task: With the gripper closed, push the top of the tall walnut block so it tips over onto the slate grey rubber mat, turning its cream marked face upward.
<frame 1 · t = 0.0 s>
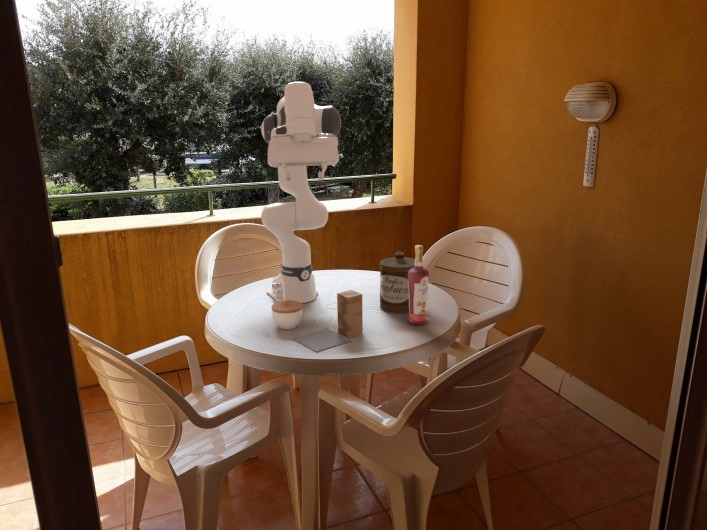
hand: (304, 179, 157), 54 cm above the table, tool tilted 30°, fingers open, 8 cm apart
lidded jar: (288, 326, 196), on the table
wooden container: (399, 307, 213), on the table
liquor: (417, 323, 198), on the table
slate mat: (322, 339, 184), on the table
walnut block: (350, 332, 190), on the table
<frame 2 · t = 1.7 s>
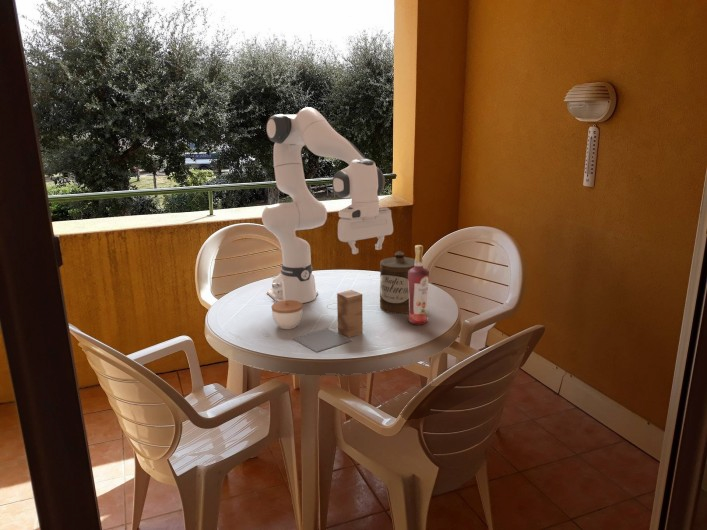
hand: (367, 251, 184), 28 cm above the table, tool pointing down, fingers open, 8 cm apart
nothing on the table moved.
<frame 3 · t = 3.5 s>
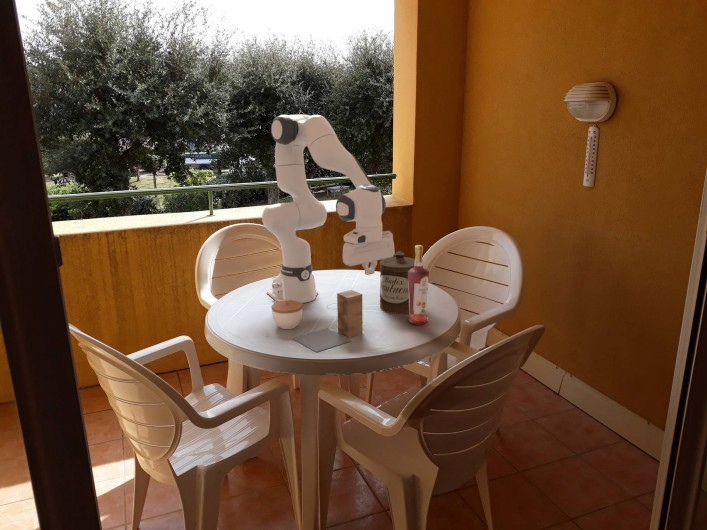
hand: (369, 273, 189), 19 cm above the table, tool pointing down, fingers closed
nothing on the table moved.
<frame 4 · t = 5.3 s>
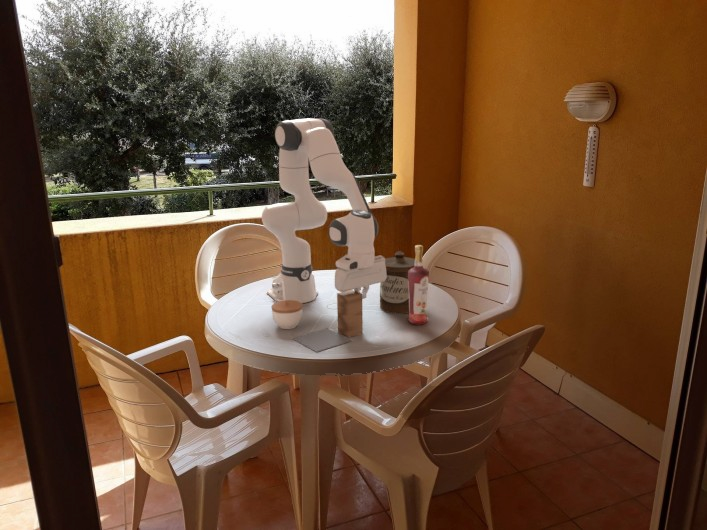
hand: (361, 298, 190), 11 cm above the table, tool pointing down, fingers closed
walnut block: (350, 332, 190), on the table, touching gripper
everything else where it was.
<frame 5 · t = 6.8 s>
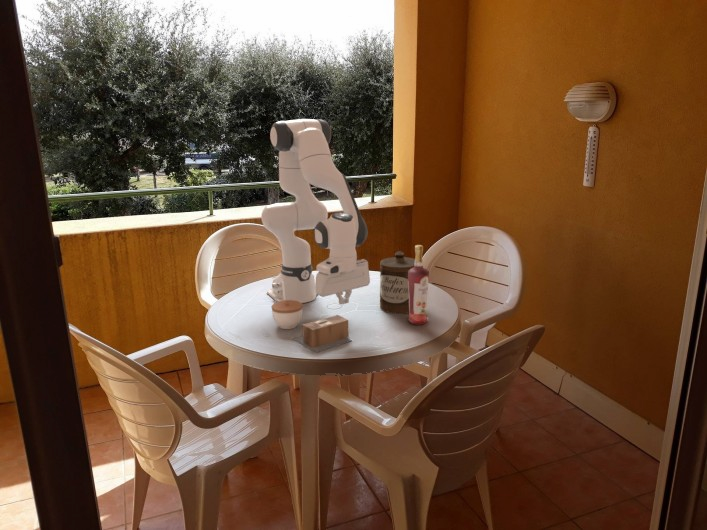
hand: (343, 303, 185), 11 cm above the table, tool pointing down, fingers closed
walnut block: (343, 325, 187), point 3 cm above the table, tilted 90°, touching slate mat
everything else where it was.
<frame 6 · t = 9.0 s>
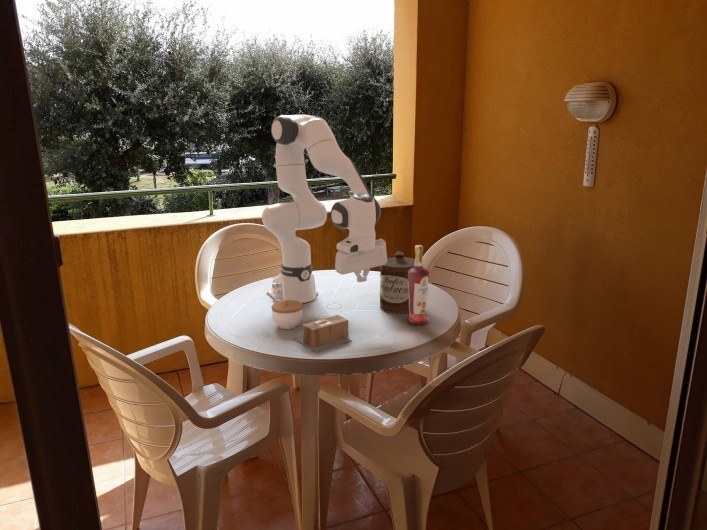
hand: (361, 281, 191), 16 cm above the table, tool pointing down, fingers closed
nothing on the table moved.
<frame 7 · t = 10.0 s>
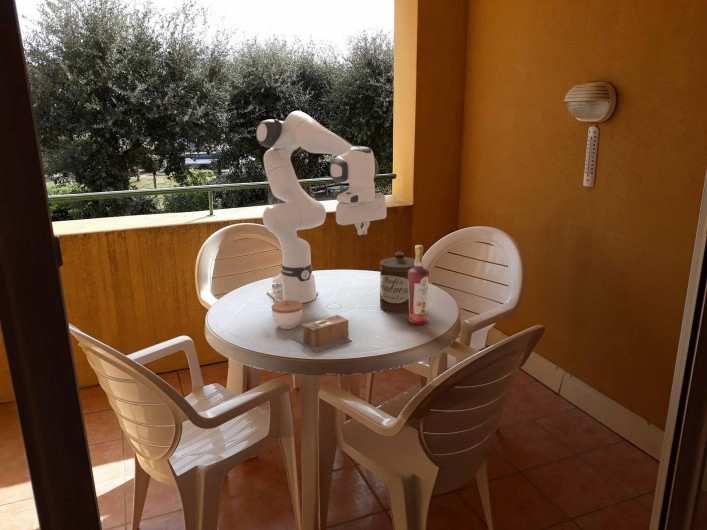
hand: (362, 234, 194), 31 cm above the table, tool pointing down, fingers closed
nothing on the table moved.
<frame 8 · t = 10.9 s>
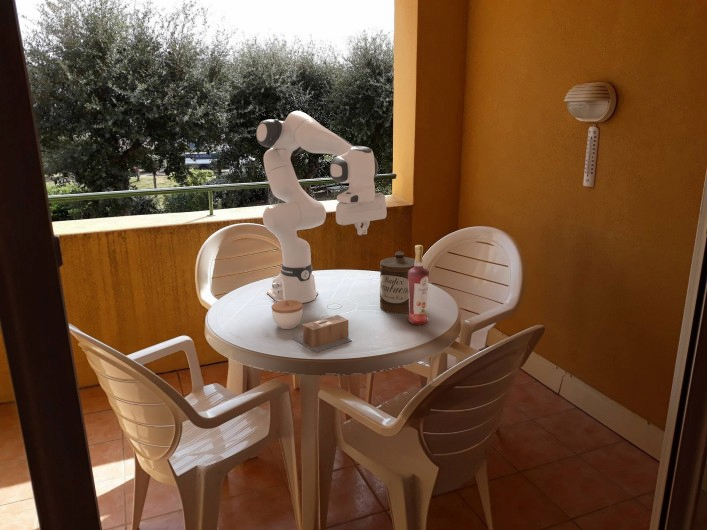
hand: (362, 234, 194), 31 cm above the table, tool pointing down, fingers closed
nothing on the table moved.
at the end: walnut block tilted 90°; walnut block touching slate mat; the gripper is holding nothing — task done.
